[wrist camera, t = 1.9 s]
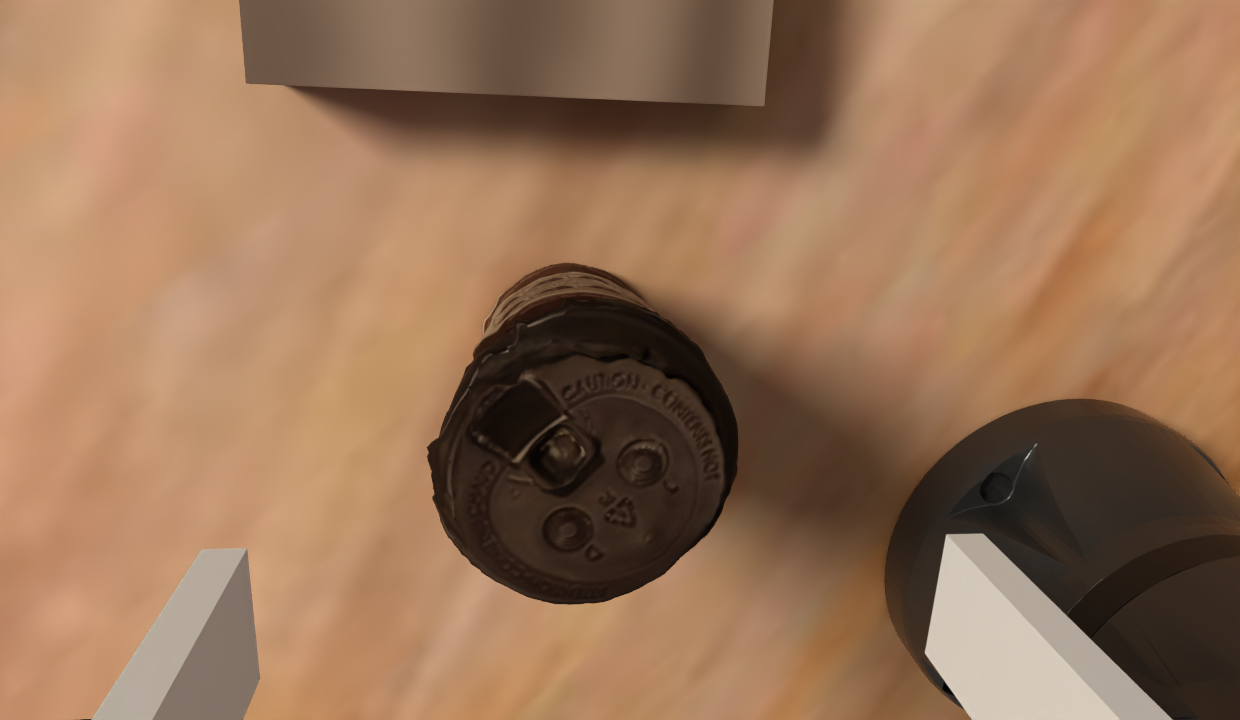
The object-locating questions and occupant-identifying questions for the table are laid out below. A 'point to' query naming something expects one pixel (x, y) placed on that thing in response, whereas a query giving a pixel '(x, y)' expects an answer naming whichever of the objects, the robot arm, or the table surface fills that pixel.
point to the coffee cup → (582, 441)
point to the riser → (516, 47)
